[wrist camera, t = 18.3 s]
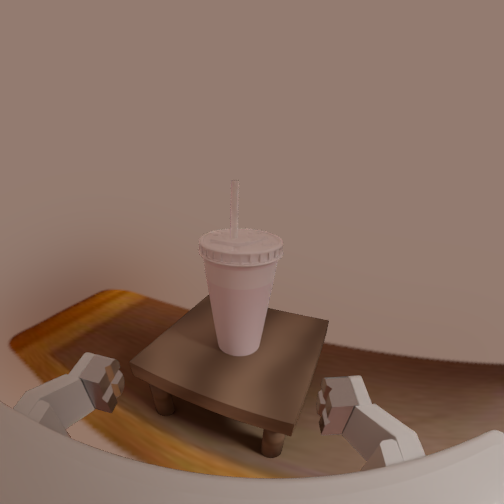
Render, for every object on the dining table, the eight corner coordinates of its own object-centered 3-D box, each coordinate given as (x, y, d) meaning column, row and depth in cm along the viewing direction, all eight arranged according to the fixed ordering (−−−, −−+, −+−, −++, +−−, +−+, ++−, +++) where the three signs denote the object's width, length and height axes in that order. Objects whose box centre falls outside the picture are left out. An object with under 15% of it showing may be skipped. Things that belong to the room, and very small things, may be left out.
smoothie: (197, 328, 26) (191, 177, 21) (259, 319, 28) (266, 177, 24) (212, 373, 20) (207, 186, 16) (287, 357, 23) (305, 186, 18)
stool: (318, 369, 30) (328, 320, 28) (282, 467, 18) (294, 424, 16) (211, 341, 35) (209, 294, 33) (145, 412, 23) (129, 361, 21)
